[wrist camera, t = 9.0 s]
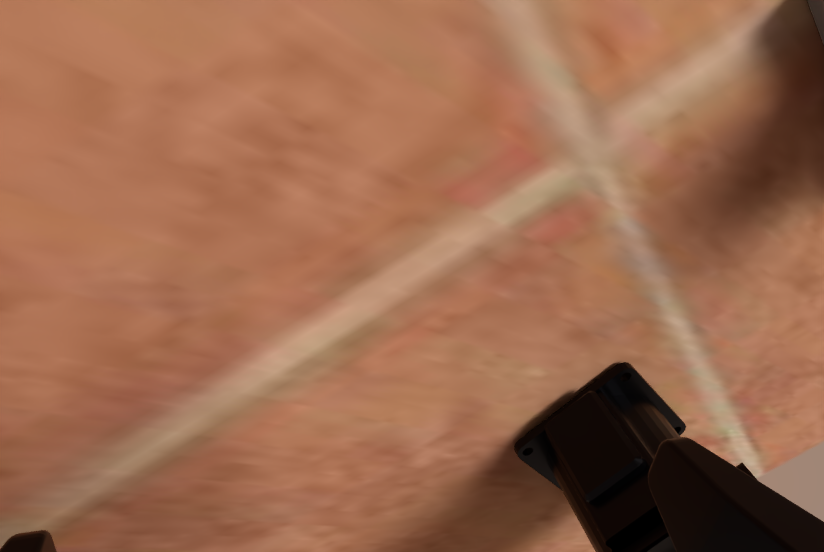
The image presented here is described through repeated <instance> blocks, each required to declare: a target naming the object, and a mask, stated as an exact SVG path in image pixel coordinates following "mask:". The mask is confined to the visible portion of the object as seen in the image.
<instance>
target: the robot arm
mask: <svg viewBox="0 0 824 552" xmlns="http://www.w3.org/2000/svg"><path fill="white" fill-rule="evenodd" d="M685 428H686V426H685V424H684V422H683V421H682V420H681V419H680V418H679V417H678V415H677V414H676V413H675V412H674V411H673V410H672V409H671V408H670V407H669V406H668V405H667V403H666V402H665V401H664V400H663V399H662V398H661V397H660V396H659V395H658V394H657V393H656V391H655V390H654V389H653V388H652V387H651V386H650V385H649V384H648V383H647V382H646V381H645V380H644V378H643V377H642V376H641V375H640V374H639V373H638V372H637V371H636V370H635V369H634V368H633V366H632V365H631V364H629V363H626V362H624V363H620V364H618V365H617V366H615V367H614V368H613V369H611V370H610V371H609V372H607V373H606V374H605V375H603V376H602V377H601V378H600V379H598V380H597V381H596V382H594V383H593V384H592V385H590V386H589V387H588V388H587V389H585V390H584V391H583V392H581V393H580V394H579V395H577V396H576V397H575V398H573V399H572V400H571V401H570V402H568V403H567V404H566V405H564V406H563V407H562V408H560V409H559V410H558V411H557V412H555V413H554V414H553V415H551V416H550V417H549V418H547V419H546V420H545V421H544V422H542V423H541V424H540V425H538V426H537V427H536V428H534V429H533V430H532V431H530V432H529V433H528V434H527V435H525V436H524V437H523V438H521V439H520V440H519V441H518V442H517V443H516V444H515V446H514V450H515V451H516V453H517V455H518V457H519V458H520V459H521V460H522V461H524V462H525V463H526V464H528V465H529V466H530V467H532V468H533V469H534V470H536V471H537V472H538V473H540V474H541V475H542V476H544V477H545V478H547V479H548V480H549V481H551V482H552V483H553V484H555V485H556V486H557V487H559V488H560V489H561V490H562V491H563V493H564V494H565V496H566V498H567V500H568V502H569V504H570V505H571V507H572V509H573V511H574V513H575V515H576V517H577V518H578V520H579V522H580V524H581V526H582V528H583V529H584V531H585V533H586V535H587V537H588V539H589V540H590V542H591V544H592V546H593V548H594V550H595V551H596V552H824V522H823V521H821V520H820V519H818V518H817V517H815V516H813V515H812V514H810V513H808V512H807V511H805V510H804V509H802V508H801V507H799V506H797V505H796V504H794V503H792V502H791V501H789V500H788V499H786V498H785V497H783V496H781V495H780V494H778V493H776V492H775V491H773V490H772V489H770V488H769V487H767V486H765V485H764V484H762V483H760V482H759V481H758V480H757V479H756V478H755V477H754V476H753V474H752V473H751V472H750V471H749V470H748V469H747V468H746V466H745V465H744V464H743V463H740V464H739V465H738V466H736V467H735V466H733V465H732V464H730V463H729V462H727V461H725V460H724V459H722V458H720V457H719V456H717V455H716V454H714V453H712V452H711V451H709V450H708V449H706V448H704V447H703V446H701V445H700V444H698V443H696V442H695V441H693V440H691V439H689V438H685V437H680V435H681V434H682V433H683V432H684V430H685ZM0 552H56V549H55V546H54V543H53V539H52V537H51V535H50V533H49V532H48V531H46V530H40V531H34V532H27V533H20V534H16V535H14V536H12V537H11V538H9V539H8V540H7V542H6V543H5V544H4V545H3V546H2V548H1V549H0Z"/></svg>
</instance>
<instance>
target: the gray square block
mask: <svg viewBox="0 0 824 552" xmlns="http://www.w3.org/2000/svg"><path fill="white" fill-rule="evenodd" d="M807 1H808V4H809V7H810V9H811V12H812V15H813V18H814V20H815V23H816V26H817V28H818V31H819V34H820V37H821V39H822V42H823V45H824V0H807Z"/></svg>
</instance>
